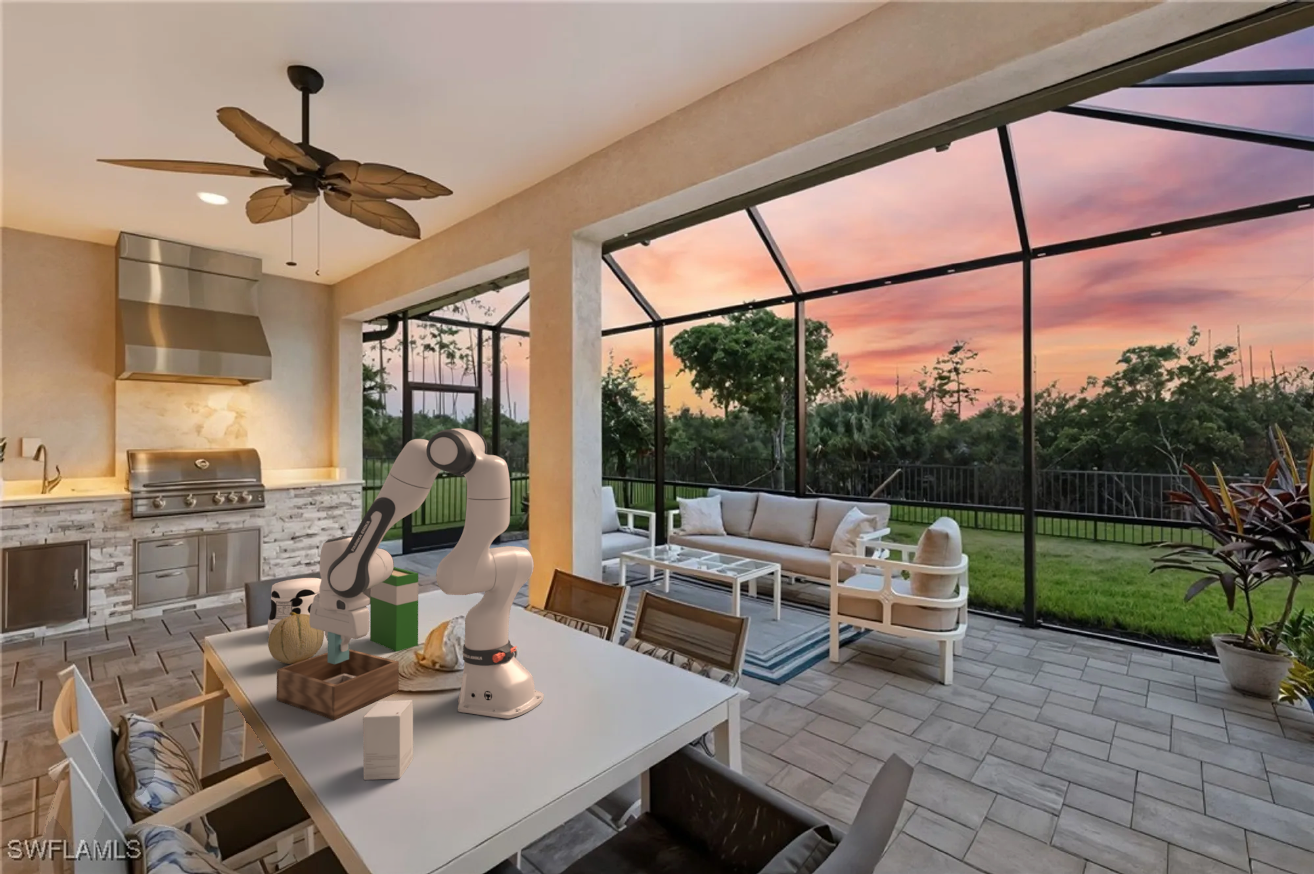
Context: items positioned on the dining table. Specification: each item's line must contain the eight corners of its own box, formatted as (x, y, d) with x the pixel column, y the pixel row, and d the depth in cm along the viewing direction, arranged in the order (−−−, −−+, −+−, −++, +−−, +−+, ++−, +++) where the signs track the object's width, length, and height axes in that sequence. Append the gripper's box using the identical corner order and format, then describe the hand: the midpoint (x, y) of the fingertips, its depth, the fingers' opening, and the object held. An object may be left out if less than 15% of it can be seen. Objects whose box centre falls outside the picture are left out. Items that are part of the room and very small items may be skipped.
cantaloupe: (297, 673, 164) (297, 621, 164) (255, 669, 167) (255, 619, 167) (335, 655, 178) (335, 607, 179) (296, 651, 181) (296, 605, 182)
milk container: (321, 622, 211) (321, 574, 212) (329, 634, 198) (329, 583, 198) (265, 632, 200) (265, 582, 201) (270, 645, 187) (270, 591, 187)
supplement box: (414, 758, 119) (414, 698, 119) (399, 779, 112) (399, 715, 112) (379, 759, 119) (379, 699, 119) (361, 780, 111) (362, 716, 111)
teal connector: (349, 658, 151) (349, 629, 151) (334, 664, 147) (334, 633, 147) (342, 656, 152) (342, 627, 152) (327, 662, 149) (327, 632, 149)
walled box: (398, 691, 152) (398, 661, 152) (334, 720, 136) (334, 686, 136) (342, 675, 163) (342, 647, 163) (276, 700, 147) (276, 669, 147)
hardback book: (370, 640, 192) (370, 570, 192) (391, 634, 198) (391, 566, 198) (396, 651, 181) (396, 577, 182) (418, 645, 187) (418, 573, 187)
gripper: (302, 594, 151) (302, 646, 151) (351, 605, 142) (351, 660, 142) (325, 589, 157) (325, 638, 157) (374, 599, 148) (373, 651, 148)
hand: (338, 649), depth 150 cm, fingers closed on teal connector, 3 cm apart
